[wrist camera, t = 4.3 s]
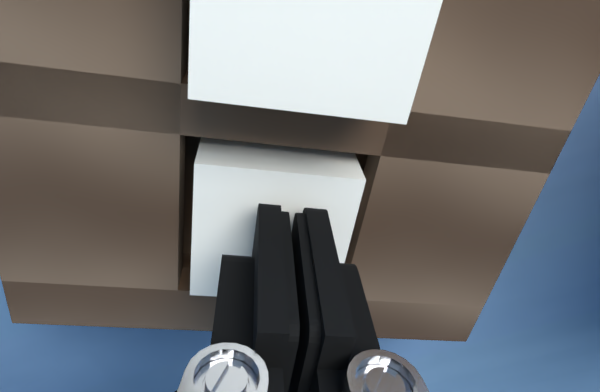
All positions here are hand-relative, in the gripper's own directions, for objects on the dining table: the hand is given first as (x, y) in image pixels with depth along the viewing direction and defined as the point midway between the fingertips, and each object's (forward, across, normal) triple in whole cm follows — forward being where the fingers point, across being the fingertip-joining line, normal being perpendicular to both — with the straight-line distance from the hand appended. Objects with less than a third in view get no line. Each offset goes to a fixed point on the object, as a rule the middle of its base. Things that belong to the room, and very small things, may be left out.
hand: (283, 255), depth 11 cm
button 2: (+3, 0, 0) cm, 3 cm away
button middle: (+2, 0, -6) cm, 6 cm away
